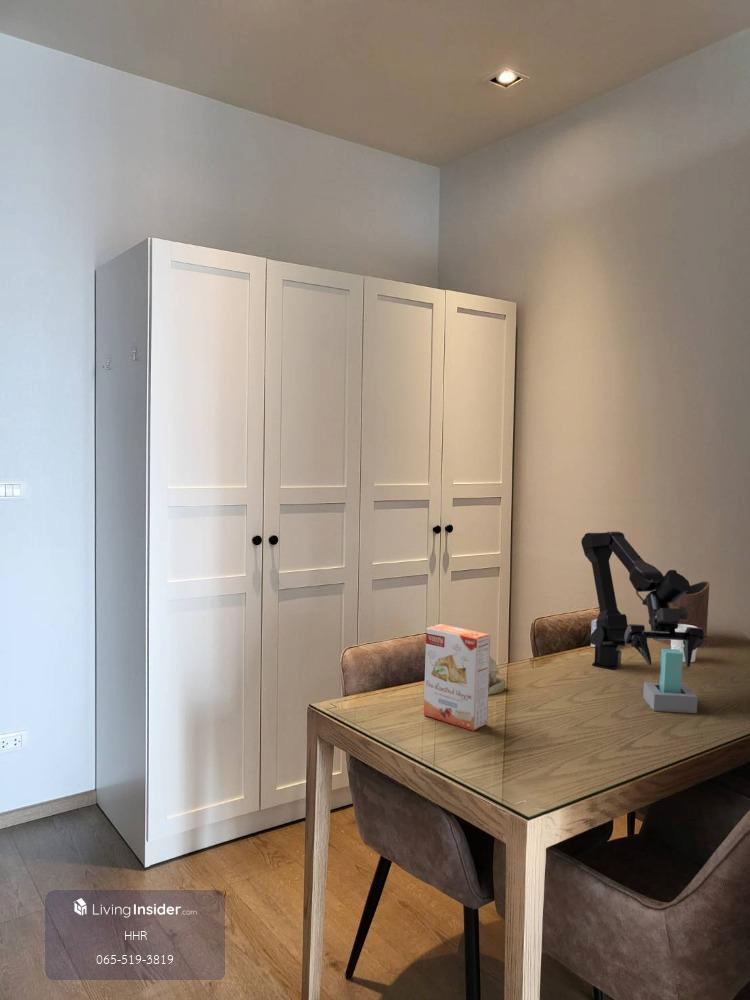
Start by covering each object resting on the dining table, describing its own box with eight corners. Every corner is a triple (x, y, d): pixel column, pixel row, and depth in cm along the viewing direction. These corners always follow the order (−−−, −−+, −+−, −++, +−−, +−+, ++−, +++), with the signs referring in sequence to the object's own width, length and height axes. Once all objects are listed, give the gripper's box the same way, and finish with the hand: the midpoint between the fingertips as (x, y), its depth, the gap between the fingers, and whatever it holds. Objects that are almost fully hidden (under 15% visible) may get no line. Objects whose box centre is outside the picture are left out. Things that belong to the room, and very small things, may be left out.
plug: (663, 705, 187) (665, 652, 186) (658, 700, 191) (661, 648, 190) (680, 706, 187) (682, 653, 186) (675, 701, 191) (678, 649, 190)
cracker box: (422, 716, 177) (424, 626, 175) (437, 710, 181) (440, 622, 180) (472, 732, 167) (476, 637, 166) (488, 725, 172) (491, 633, 171)
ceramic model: (464, 699, 190) (465, 659, 190) (441, 686, 200) (442, 648, 200) (511, 692, 196) (513, 654, 196) (487, 680, 206) (488, 643, 206)
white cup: (663, 657, 234) (665, 625, 234) (682, 655, 238) (684, 623, 237) (683, 664, 227) (685, 630, 227) (703, 661, 230) (704, 628, 230)
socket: (653, 710, 185) (654, 694, 184) (643, 697, 195) (644, 682, 194) (696, 713, 184) (697, 696, 183) (684, 699, 194) (684, 684, 193)
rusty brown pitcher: (716, 650, 244) (720, 572, 243) (637, 644, 249) (641, 568, 248) (703, 637, 263) (707, 564, 261) (630, 631, 267) (633, 560, 266)
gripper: (629, 592, 195) (637, 646, 185) (705, 596, 193) (717, 651, 183) (620, 616, 203) (628, 669, 193) (693, 620, 201) (705, 673, 191)
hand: (669, 665), depth 190 cm, fingers open, 9 cm apart
